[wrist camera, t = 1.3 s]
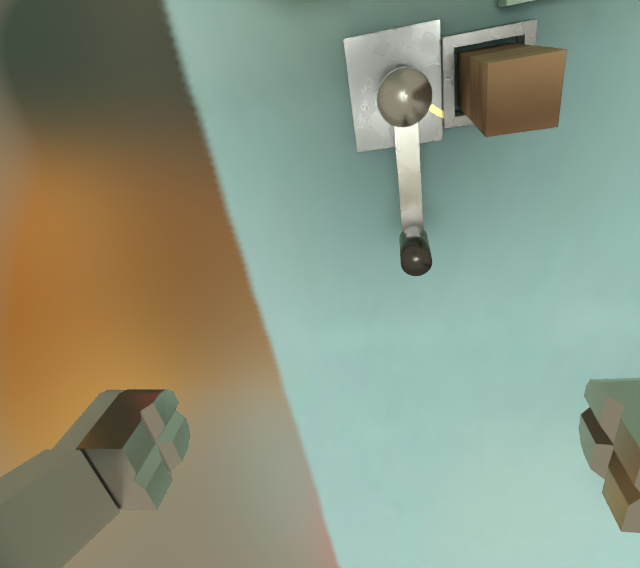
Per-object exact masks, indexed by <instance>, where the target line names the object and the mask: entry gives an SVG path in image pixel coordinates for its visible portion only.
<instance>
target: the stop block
mask: <svg viewBox="0 0 640 568" xmlns="http://www.w3.org/2000/svg"><path fill="white" fill-rule="evenodd" d="M566 52H567V50H566V49H558V48H550V47H542V46H534V45H526V44H518V43H506V44H500V45H495V46H490V47H484V48H479V49H473V50H468V51H462V52H457V106H458V107H459V108H460V109H461V110H462V111H463V112H464V113H465V114H466V116H467V117H468V118H469V119H470V120H471V121H472V122H473V123H474V124H475V126H476V127H477V128H478V129H479V130H480V131H481V132H482V133H483V134H484V136H485V137H489V136H497V135H504V134H511V133H518V132H525V131H532V130H539V129H546V128H553V127H558V122H559V113H560V104H561V96H562V87H563V78H564V69H565V60H566Z"/></svg>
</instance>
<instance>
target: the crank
mask: <svg viewBox="0 0 640 568" xmlns="http://www.w3.org/2000/svg"><path fill="white" fill-rule="evenodd" d="M431 103H432V88H431V85H430V82H429V80H428V79H427V78H426V76H425V75H424V74H423V73H422V72H421V71H420V70H418V69H416V68H413V67H408V66H405V67H399V68H396V69H394V70H392V71H391V72H390V73H388V74H387V75H386V76H385V78H384V79H383V80H382V82H381V84H380V86H379V89H378V95H377V106H378V110H379V112H380V114H381V116H382V117H383V119H384V120H385V121H386V122H388V123H389V124H391V125H393V126H394V132H395V145H396V157H397V170H398V183H399V195H400V208H401V221H402V233H401V235H400V256H401V267H402V269H403V270H404V272H406V273H407V274H409V275H412V276H420V275H423V274H425V273H426V272H428V271H429V269H430V268H431V266H432V258H431V253H430V248H429V242H428V237H427V234H426V232H425V231H424V230H423V210H422V190H421V170H420V150H419V131H418V122H419V121H420V120H422V119H423V118H424V117H425V115H426V114H427V112H428V111H429V109H430V106H431Z"/></svg>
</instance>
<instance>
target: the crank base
mask: <svg viewBox="0 0 640 568" xmlns="http://www.w3.org/2000/svg"><path fill="white" fill-rule="evenodd" d="M343 42H344V50H345V58H346V66H347V74H348V82H349V90H350V98H351V106H352V114H353V122H354V130H355V137H356V145H357V152H363V151H370V150H377V149H384V148H391V147H396V145H395V132H394V126H393V125H391V124H389V123H388V122H386V121H385V120H384V119H383V117H382V116H381V114H380V112H379V110H378V106H377V95H378V89H379V86H380V84H381V82H382V80H383V79H384V78H385V76H386V75H387V74H388V73H390V72H391V71H392V70H394V69H396V68H399V67H405V66H408V67H413V68H416V69H418V70H420V71H421V72H422V73H423V74H424V75H425V76H426V78H427V79H428V80H429V82H430V85H431V88H432V103H431V106H430V109H429V111H428V112H427V114H426V115H425V117H424V118H423V119H422V120H420V121H419V122H418V131H419V143H426V142H433V141H440V140H443V128H442V118H443V111H442V83H441V37H440V19H439V20H434V21H429V22H424V23H420V24H415V25H410V26H405V27H400V28H395V29H390V30H385V31H380V32H375V33H370V34H365V35H360V36H355V37H350V38H345V39H343Z"/></svg>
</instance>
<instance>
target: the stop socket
mask: <svg viewBox="0 0 640 568" xmlns="http://www.w3.org/2000/svg"><path fill="white" fill-rule="evenodd" d="M537 26H538V19H534V20H526V21H521V22H516V23H510V24H505V25H500V26H495V27H490V28H485V29H479V30H474V31H469V32H464V33H459V34H454V35H448V36H443V37H441V83H442V111H443V118H442V125H443V126H444V128H452V127H459V126H465V125H472V124H474V123H473V122H472V121H471V120H470V119H469V118H468V117H467V116H466V114H465V113H464V112H463V111H459V112H455V99H454V48H455V47H460V46H465V45H471V44H476V43H481V42H487V41H492V40H497V39H503V38H508V37H514V36H518V40H517V43H518V44H526V45H534V46H536V38H537Z"/></svg>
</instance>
